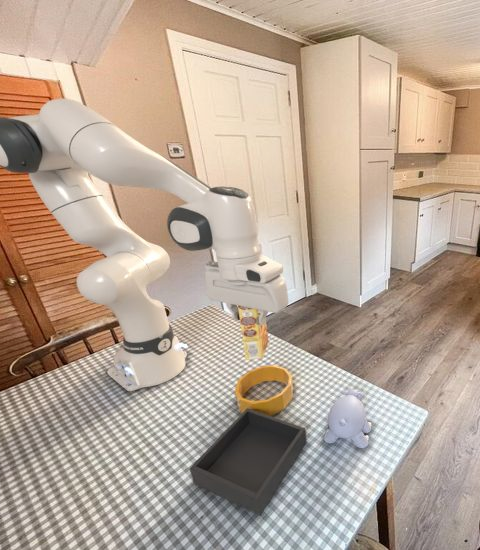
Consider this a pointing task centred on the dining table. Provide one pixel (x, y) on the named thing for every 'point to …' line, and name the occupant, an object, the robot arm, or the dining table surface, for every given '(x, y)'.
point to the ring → (260, 376)
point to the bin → (250, 460)
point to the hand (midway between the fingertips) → (250, 321)
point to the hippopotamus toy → (348, 419)
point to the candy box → (252, 333)
